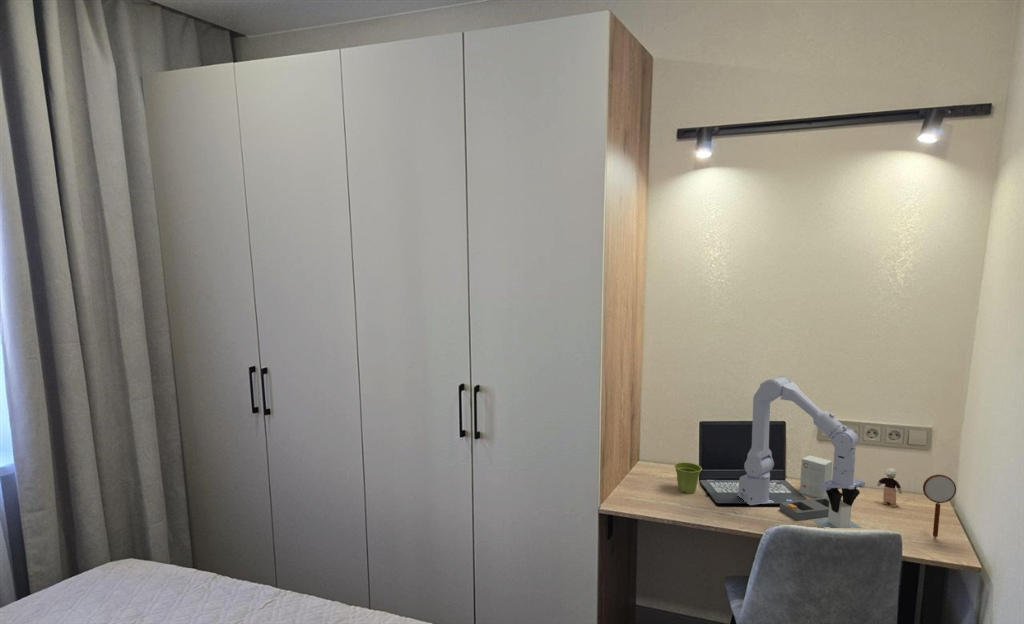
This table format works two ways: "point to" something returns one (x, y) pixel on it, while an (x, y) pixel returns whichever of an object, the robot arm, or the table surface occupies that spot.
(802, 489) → the small box
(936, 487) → the magnifying glass
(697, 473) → the plant pot
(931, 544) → the table surface
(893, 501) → the grandmother figurine
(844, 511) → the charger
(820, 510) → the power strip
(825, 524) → the mat
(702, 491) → the table surface
